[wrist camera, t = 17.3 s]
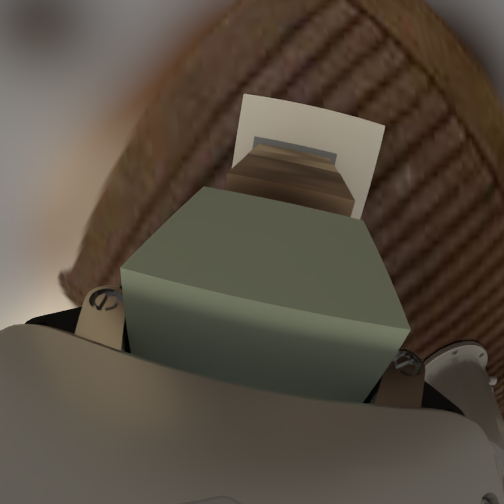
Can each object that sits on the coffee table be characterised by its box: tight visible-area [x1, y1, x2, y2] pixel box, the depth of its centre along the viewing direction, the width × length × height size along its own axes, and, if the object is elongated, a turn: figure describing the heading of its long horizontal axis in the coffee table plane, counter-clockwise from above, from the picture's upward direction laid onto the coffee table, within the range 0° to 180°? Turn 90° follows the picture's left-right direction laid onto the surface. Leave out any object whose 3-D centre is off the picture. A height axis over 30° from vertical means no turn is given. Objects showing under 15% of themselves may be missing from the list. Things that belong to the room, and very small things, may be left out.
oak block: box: [248, 143, 338, 173], centre depth 23 cm, size 6×6×6 cm
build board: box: [232, 94, 385, 220], centre depth 26 cm, size 12×14×1 cm
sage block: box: [120, 187, 411, 403], centre depth 10 cm, size 6×6×6 cm
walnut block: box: [225, 154, 355, 217], centre depth 17 cm, size 6×6×6 cm
